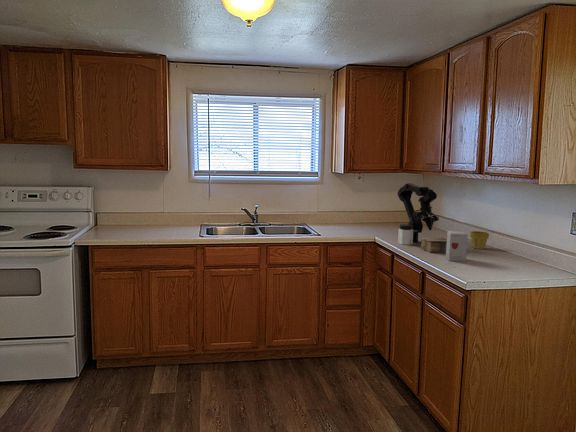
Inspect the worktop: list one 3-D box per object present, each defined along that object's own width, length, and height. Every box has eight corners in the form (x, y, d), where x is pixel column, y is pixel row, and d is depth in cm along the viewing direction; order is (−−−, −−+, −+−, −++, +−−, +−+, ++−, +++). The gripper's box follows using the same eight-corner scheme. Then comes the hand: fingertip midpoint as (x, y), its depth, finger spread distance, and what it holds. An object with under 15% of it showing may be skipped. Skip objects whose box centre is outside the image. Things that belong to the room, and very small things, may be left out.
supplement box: (448, 261, 258) (450, 233, 256) (445, 257, 267) (446, 230, 265) (466, 261, 257) (468, 233, 255) (462, 258, 265) (464, 231, 264)
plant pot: (479, 246, 302) (480, 230, 301) (491, 249, 292) (492, 233, 291) (465, 247, 298) (466, 231, 297) (478, 250, 289) (479, 234, 288)
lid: (421, 239, 289) (421, 238, 289) (442, 238, 292) (442, 237, 292) (431, 242, 278) (431, 241, 278) (453, 241, 281) (453, 240, 281)
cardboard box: (420, 248, 290) (421, 239, 289) (441, 248, 293) (442, 238, 292) (430, 253, 278) (431, 243, 278) (452, 252, 281) (453, 242, 281)
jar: (398, 244, 304) (399, 225, 302) (397, 242, 312) (398, 223, 310) (412, 245, 302) (413, 226, 300) (412, 242, 310) (413, 224, 308)
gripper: (420, 212, 309) (425, 236, 304) (406, 206, 296) (411, 230, 290) (436, 207, 303) (441, 231, 297) (423, 201, 289) (428, 225, 284)
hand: (430, 230), depth 292 cm, fingers closed
